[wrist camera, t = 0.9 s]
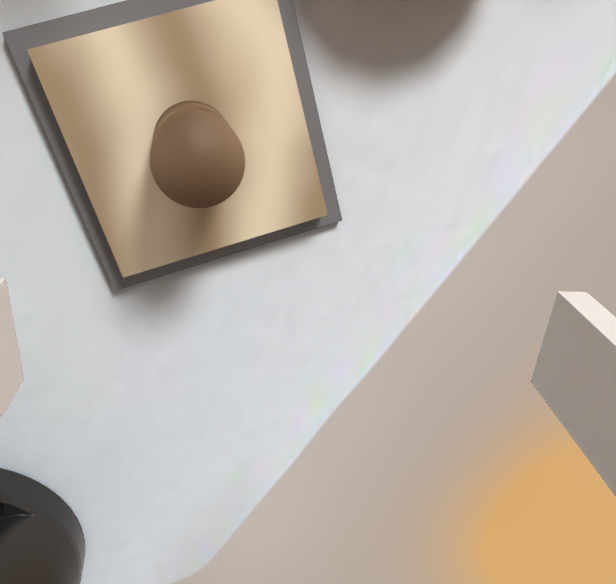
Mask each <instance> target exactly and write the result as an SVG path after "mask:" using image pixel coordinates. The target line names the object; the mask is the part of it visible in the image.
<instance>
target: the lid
mask: <svg viewBox="0 0 616 584" xmlns="http://www.w3.org/2000/svg"><path fill="white" fill-rule="evenodd" d="M27 51H28V54H29V56H30V58H31V61H32V63H33V65H34V68H35V70H36V72H37V75H38V77H39V80H40V82H41V84H42V87H43V89H44V91H45V94H46V96H47V99H48V101H49V103H50V106H51V108H52V110H53V113H54V115H55V117H56V120H57V122H58V125H59V127H60V129H61V132H62V134H63V136H64V139H65V141H66V144H67V146H68V148H69V151H70V153H71V155H72V158H73V160H74V162H75V165H76V167H77V170H78V172H79V174H80V177H81V179H82V181H83V184H84V186H85V189H86V191H87V193H88V196H89V198H90V200H91V203H92V205H93V208H94V210H95V212H96V215H97V217H98V219H99V222H100V224H101V226H102V229H103V231H104V234H105V236H106V238H107V241H108V243H109V245H110V248H111V250H112V253H113V255H114V257H115V260H116V262H117V264H118V267H119V269H120V271H121V274H122V276H123V278H124V277H127V276H130V275H134V274H137V273H140V272H143V271H147V270H150V269H153V268H156V267H160V266H163V265H166V264H169V263H173V262H176V261H179V260H183V259H186V258H189V257H192V256H196V255H199V254H202V253H205V252H209V251H212V250H215V249H218V248H222V247H225V246H228V245H231V244H235V243H238V242H241V241H245V240H248V239H251V238H254V237H258V236H261V235H264V234H267V233H271V232H274V231H277V230H280V229H284V228H287V227H290V226H294V225H297V224H300V223H303V222H307V221H310V220H313V219H316V218H320V217H323V216H326V215H328V214H327V210H326V206H325V201H324V197H323V193H322V189H321V184H320V180H319V176H318V172H317V167H316V163H315V159H314V155H313V150H312V146H311V142H310V138H309V133H308V129H307V125H306V121H305V116H304V112H303V108H302V104H301V99H300V95H299V91H298V87H297V82H296V78H295V74H294V70H293V65H292V61H291V57H290V53H289V48H288V44H287V40H286V36H285V32H284V27H283V23H282V19H281V15H280V10H279V6H278V2H277V0H214V1H210V2H206V3H203V4H199V5H195V6H191V7H187V8H184V9H180V10H176V11H172V12H168V13H165V14H161V15H157V16H153V17H149V18H145V19H142V20H138V21H134V22H130V23H126V24H123V25H119V26H115V27H111V28H107V29H104V30H100V31H96V32H92V33H88V34H85V35H81V36H77V37H73V38H69V39H66V40H62V41H58V42H54V43H50V44H47V45H43V46H39V47H35V48H31V49H27Z"/></svg>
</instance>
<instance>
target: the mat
mask: <svg viewBox="0 0 616 584" xmlns="http://www.w3.org/2000/svg"><path fill="white" fill-rule="evenodd" d="M210 1H214V0H127V1H123V2H119V3H115V4H111V5H107V6H103V7H100V8H96V9H92V10H88V11H84V12H80V13H76V14H73V15H69V16H65V17H61V18H57V19H53V20H49V21H46V22H42V23H38V24H34V25H30V26H26V27H22V28H18V29H15V30H11V31H7V32H3V33H2V34H3V36H4V38H5V41H6V43H7V45H8V47H9V50H10V52H11V54H12V57H13V59H14V61H15V64H16V66H17V68H18V70H19V73H20V75H21V77H22V80H23V82H24V84H25V87H26V89H27V91H28V93H29V96H30V98H31V100H32V103H33V105H34V107H35V110H36V112H37V114H38V116H39V119H40V121H41V123H42V126H43V128H44V130H45V133H46V135H47V137H48V139H49V142H50V144H51V146H52V149H53V151H54V153H55V156H56V158H57V160H58V162H59V165H60V167H61V169H62V172H63V174H64V176H65V179H66V181H67V183H68V185H69V188H70V190H71V192H72V195H73V197H74V199H75V202H76V204H77V206H78V209H79V211H80V213H81V215H82V218H83V220H84V222H85V225H86V227H87V229H88V232H89V234H90V236H91V238H92V241H93V243H94V245H95V248H96V250H97V252H98V255H99V257H100V259H101V261H102V264H103V266H104V268H105V271H106V273H107V275H108V278H109V280H110V282H111V284H112V287H113V289H114V290H118V289H121V288H124V287H127V286H131V285H134V284H137V283H140V282H144V281H147V280H150V279H153V278H157V277H160V276H163V275H166V274H170V273H173V272H176V271H179V270H183V269H186V268H189V267H192V266H196V265H199V264H202V263H205V262H209V261H212V260H215V259H218V258H221V257H225V256H228V255H231V254H234V253H238V252H241V251H244V250H247V249H251V248H254V247H257V246H260V245H264V244H267V243H270V242H273V241H277V240H280V239H283V238H286V237H290V236H293V235H296V234H299V233H303V232H306V231H309V230H312V229H316V228H319V227H322V226H325V225H329V224H332V223H335V222H338V221H342V217H341V213H340V209H339V204H338V200H337V195H336V191H335V186H334V182H333V177H332V173H331V168H330V164H329V160H328V155H327V151H326V146H325V142H324V137H323V133H322V128H321V124H320V120H319V115H318V111H317V106H316V102H315V97H314V93H313V88H312V84H311V80H310V75H309V71H308V66H307V62H306V57H305V53H304V48H303V44H302V40H301V35H300V31H299V26H298V22H297V17H296V13H295V8H294V4H293V0H277V2H278V6H279V10H280V15H281V19H282V23H283V27H284V32H285V36H286V40H287V44H288V48H289V53H290V57H291V61H292V65H293V70H294V74H295V78H296V82H297V87H298V91H299V95H300V99H301V104H302V108H303V112H304V116H305V121H306V125H307V129H308V133H309V138H310V142H311V146H312V150H313V155H314V159H315V163H316V167H317V172H318V176H319V180H320V184H321V189H322V193H323V197H324V201H325V206H326V210H327V214H328V215H326V216H323V217H320V218H316V219H313V220H310V221H307V222H303V223H300V224H297V225H294V226H290V227H287V228H284V229H280V230H277V231H274V232H271V233H267V234H264V235H261V236H258V237H254V238H251V239H248V240H245V241H241V242H238V243H235V244H231V245H228V246H225V247H222V248H218V249H215V250H212V251H209V252H205V253H202V254H199V255H196V256H192V257H189V258H186V259H183V260H179V261H176V262H173V263H169V264H166V265H163V266H160V267H156V268H153V269H150V270H147V271H143V272H140V273H137V274H134V275H130V276H127V277H124V278H123V276H122V274H121V271H120V269H119V267H118V264H117V262H116V260H115V257H114V255H113V253H112V250H111V248H110V245H109V243H108V241H107V238H106V236H105V234H104V231H103V229H102V226H101V224H100V222H99V219H98V217H97V215H96V212H95V210H94V208H93V205H92V203H91V200H90V198H89V196H88V193H87V191H86V189H85V186H84V184H83V181H82V179H81V177H80V174H79V172H78V170H77V167H76V165H75V162H74V160H73V158H72V155H71V153H70V151H69V148H68V146H67V144H66V141H65V139H64V136H63V134H62V132H61V129H60V127H59V125H58V122H57V120H56V117H55V115H54V113H53V110H52V108H51V106H50V103H49V101H48V99H47V96H46V94H45V91H44V89H43V87H42V84H41V82H40V80H39V77H38V75H37V72H36V70H35V68H34V65H33V63H32V61H31V58H30V56H29V54H28V51H27V49H31V48H35V47H39V46H43V45H47V44H50V43H54V42H58V41H62V40H66V39H69V38H73V37H77V36H81V35H85V34H88V33H92V32H96V31H100V30H104V29H107V28H111V27H115V26H119V25H123V24H126V23H130V22H134V21H138V20H142V19H145V18H149V17H153V16H157V15H161V14H165V13H168V12H172V11H176V10H180V9H184V8H187V7H191V6H195V5H199V4H203V3H206V2H210Z"/></svg>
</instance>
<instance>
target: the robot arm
mask: <svg viewBox="0 0 616 584" xmlns="http://www.w3.org/2000/svg"><path fill="white" fill-rule="evenodd" d="M23 380H24V377H23V371H22V366H21V360H20V355H19V349H18V343H17V338H16V332H15V327H14V321H13V315H12V310H11V304H10V298H9V293H8V287H7V282H6V278H0V419H1V418H2V416H3V414H4V413H5V411H6V409H7V407H8V406H9V404H10V402H11V401H12V399H13V397H14V395H15V394H16V392H17V390H18V389H19V387H20V385H21V383H22V382H23ZM531 383H532V384H533V386H534V387H535V388H536V389H537V391H538V392H539V394H540V395H541V396H542V398H543V399H544V400H545V402H546V403H547V404H548V406H549V407H550V409H551V410H552V411H553V413H554V414H555V415H556V417H557V418H558V419H559V420H560V422H561V423H562V425H563V426H564V427H565V429H566V430H567V431H568V433H569V434H570V436H571V437H572V438H573V440H574V441H575V442H576V443H577V445H578V446H579V447H580V449H581V450H582V452H583V453H584V454H585V456H586V457H587V458H588V460H589V461H590V462H591V464H592V465H593V466H594V468H595V469H596V471H597V472H598V473H599V475H600V476H601V477H602V479H603V480H604V481H605V483H606V484H607V485H608V487H609V488H610V489H611V491H612V492H613V493H614V495H615V496H616V317H614V316H613V315H612V314H611V313H610V312H609V311H608V310H606V309H605V308H604V307H603V306H601V304H599V303H598V302H597V301H596V300H595V299H594V298H593V297H591V296H590V295H589V294H588V293H587V292H559V291H558V293H557V296H556V299H555V302H554V306H553V309H552V313H551V316H550V319H549V322H548V326H547V329H546V332H545V336H544V339H543V342H542V346H541V349H540V353H539V356H538V359H537V363H536V366H535V369H534V373H533V376H532V379H531ZM84 557H85V540H84V534H83V531H82V528H81V525H80V523H79V521H78V519H77V517H76V516H75V514H74V512H73V511H72V510H71V508H70V507H69V506H68V505H67V504H66V503H65V502H64V501H63V500H62V499H61V498H60V497H59V496H58V495H57V494H55V493H54V492H53V491H52V490H50V489H49V488H47V487H46V486H44V485H42V484H41V483H39V482H37V481H35V480H33V479H31V478H29V477H26V476H24V475H21V474H18V473H15V472H12V471H9V470H5V469H1V468H0V584H80V581H81V575H82V569H83V563H84Z"/></svg>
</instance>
